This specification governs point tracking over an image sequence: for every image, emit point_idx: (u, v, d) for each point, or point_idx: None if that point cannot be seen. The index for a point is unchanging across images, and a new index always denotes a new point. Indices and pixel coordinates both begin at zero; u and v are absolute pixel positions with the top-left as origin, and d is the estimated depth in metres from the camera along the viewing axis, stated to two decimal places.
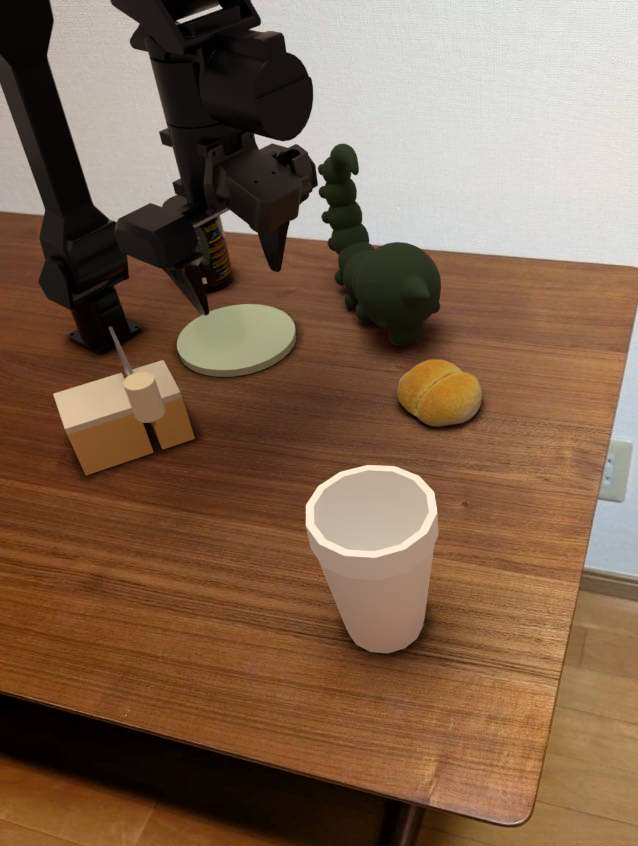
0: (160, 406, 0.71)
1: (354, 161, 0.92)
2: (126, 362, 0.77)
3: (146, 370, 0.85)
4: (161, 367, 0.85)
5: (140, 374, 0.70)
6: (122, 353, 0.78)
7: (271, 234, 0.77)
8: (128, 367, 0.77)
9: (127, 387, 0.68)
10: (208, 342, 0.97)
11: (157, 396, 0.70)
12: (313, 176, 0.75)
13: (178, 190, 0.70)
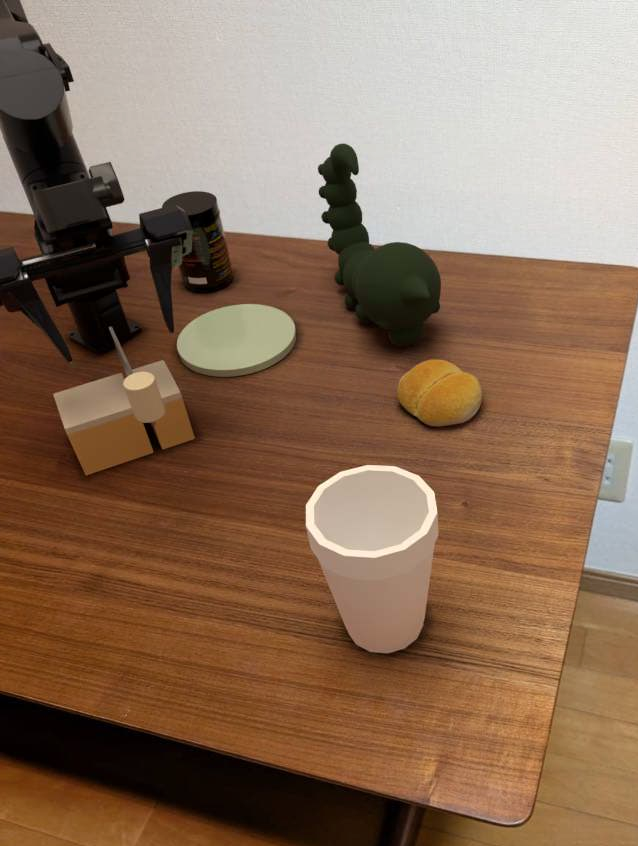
0: (160, 406, 0.71)
1: (354, 161, 0.92)
2: (126, 362, 0.77)
3: (146, 370, 0.85)
4: (161, 367, 0.85)
5: (140, 374, 0.70)
6: (122, 353, 0.78)
7: (158, 292, 0.75)
8: (128, 367, 0.77)
9: (127, 387, 0.68)
10: (208, 342, 0.97)
11: (157, 396, 0.70)
12: (178, 220, 0.73)
13: None
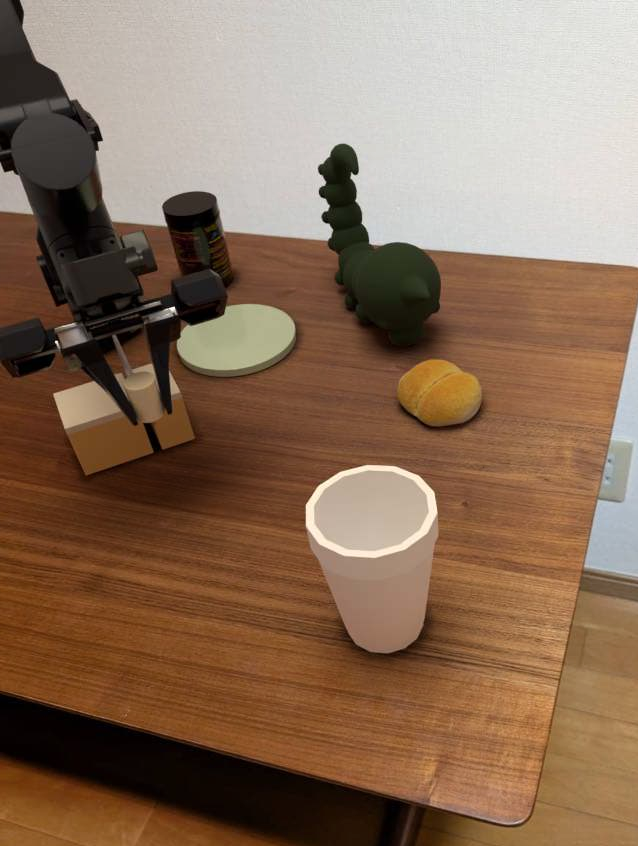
0: (160, 406, 0.71)
1: (354, 161, 0.92)
2: (126, 362, 0.77)
3: (146, 370, 0.85)
4: None
5: (140, 374, 0.70)
6: (122, 353, 0.78)
7: (155, 371, 0.70)
8: (128, 367, 0.77)
9: (127, 387, 0.68)
10: (208, 342, 0.97)
11: (157, 396, 0.70)
12: (212, 286, 0.69)
13: None
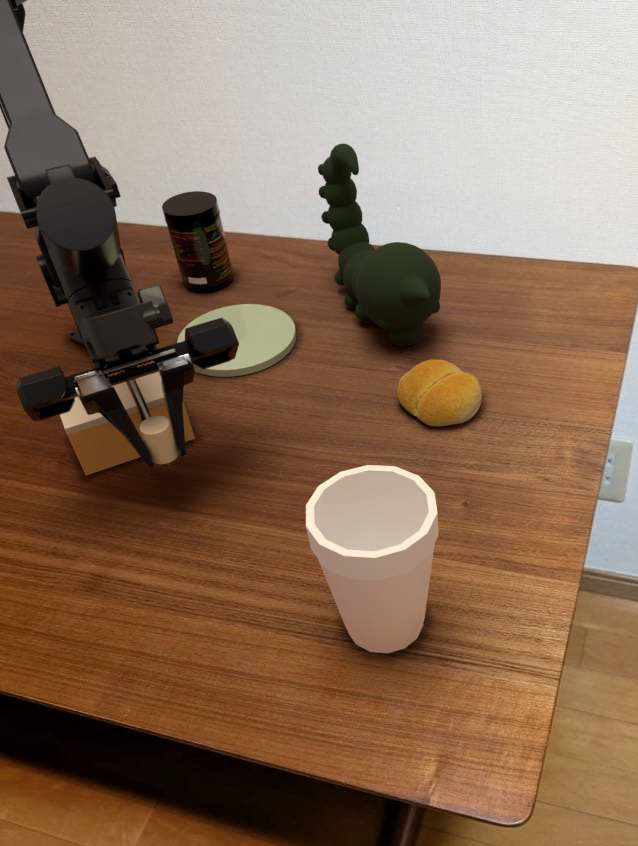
0: (174, 448, 0.74)
1: (354, 161, 0.92)
2: (141, 402, 0.81)
3: None
4: None
5: (155, 418, 0.73)
6: (136, 393, 0.82)
7: (169, 415, 0.74)
8: (143, 408, 0.80)
9: (143, 431, 0.72)
10: None
11: (172, 439, 0.73)
12: (224, 334, 0.73)
13: None
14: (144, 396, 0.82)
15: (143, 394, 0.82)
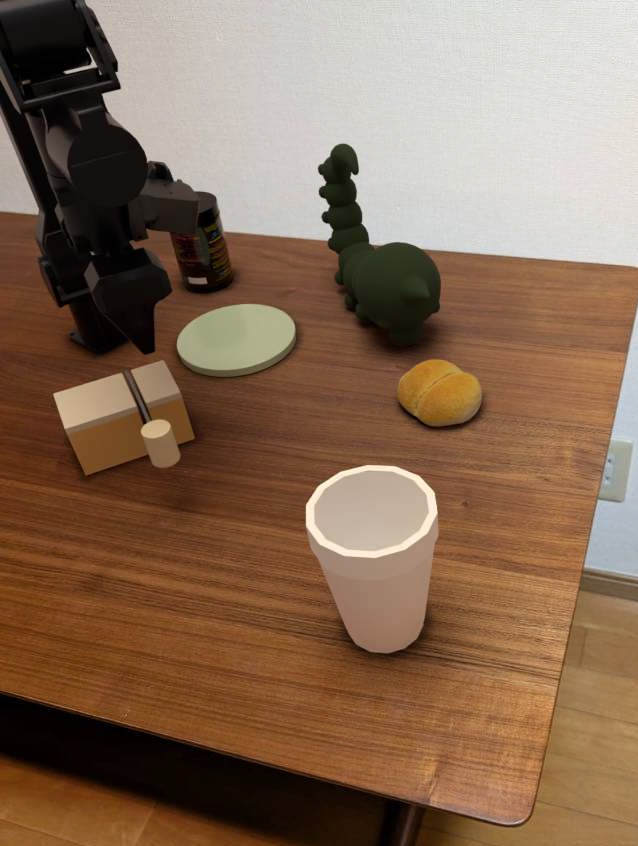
0: (176, 452, 0.74)
1: (354, 161, 0.92)
2: (142, 406, 0.81)
3: (146, 370, 0.85)
4: (161, 367, 0.85)
5: (157, 422, 0.73)
6: (138, 397, 0.82)
7: None
8: (144, 411, 0.80)
9: (145, 435, 0.72)
10: (208, 342, 0.97)
11: (173, 443, 0.74)
12: None
13: (83, 248, 0.70)
14: (144, 396, 0.82)
15: (143, 394, 0.82)
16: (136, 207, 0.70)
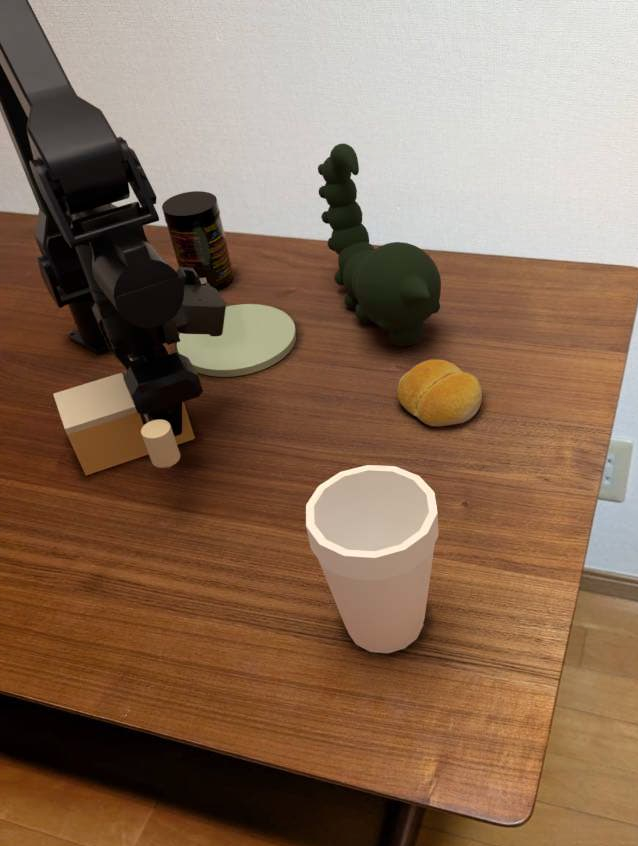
0: (176, 452, 0.74)
1: (354, 161, 0.92)
2: None
3: None
4: None
5: (157, 422, 0.73)
6: None
7: None
8: None
9: (145, 435, 0.72)
10: (208, 342, 0.97)
11: (173, 443, 0.74)
12: None
13: (121, 352, 0.78)
14: None
15: None
16: None
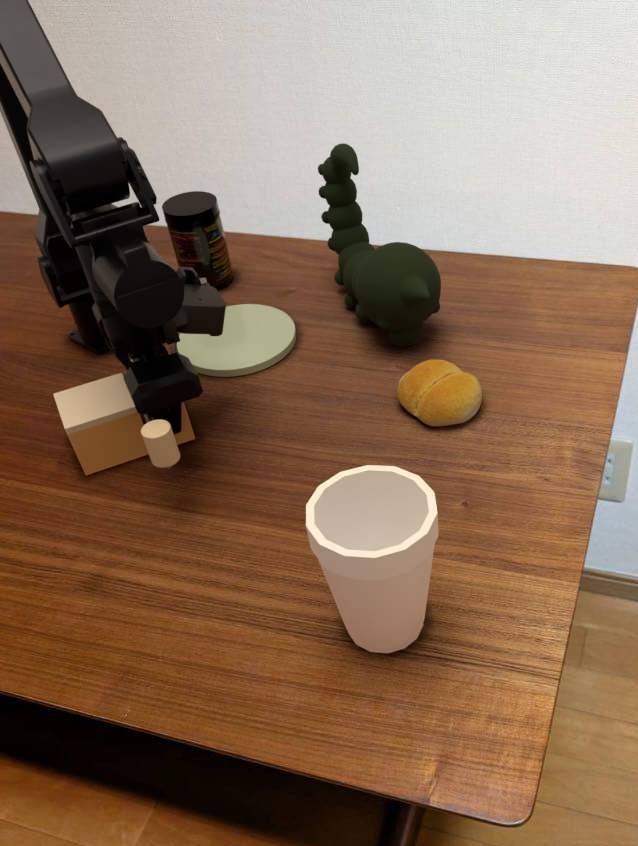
0: (176, 452, 0.74)
1: (354, 161, 0.92)
2: None
3: None
4: None
5: (157, 422, 0.73)
6: None
7: None
8: None
9: (145, 435, 0.72)
10: (208, 342, 0.97)
11: (173, 443, 0.74)
12: None
13: (121, 351, 0.78)
14: None
15: None
16: None
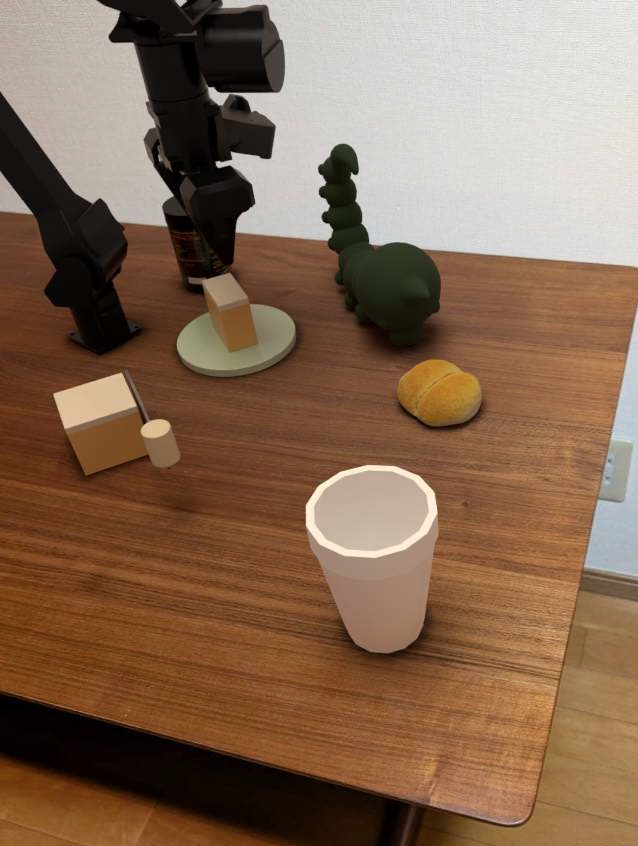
0: (175, 452, 0.74)
1: (354, 161, 0.92)
2: (142, 406, 0.81)
3: (215, 281, 0.95)
4: (228, 278, 0.95)
5: (157, 422, 0.73)
6: (138, 397, 0.82)
7: None
8: (144, 411, 0.80)
9: (145, 435, 0.72)
10: (208, 342, 0.97)
11: (173, 443, 0.74)
12: None
13: (176, 166, 0.81)
14: (216, 301, 0.92)
15: (215, 299, 0.92)
16: (223, 130, 0.80)
